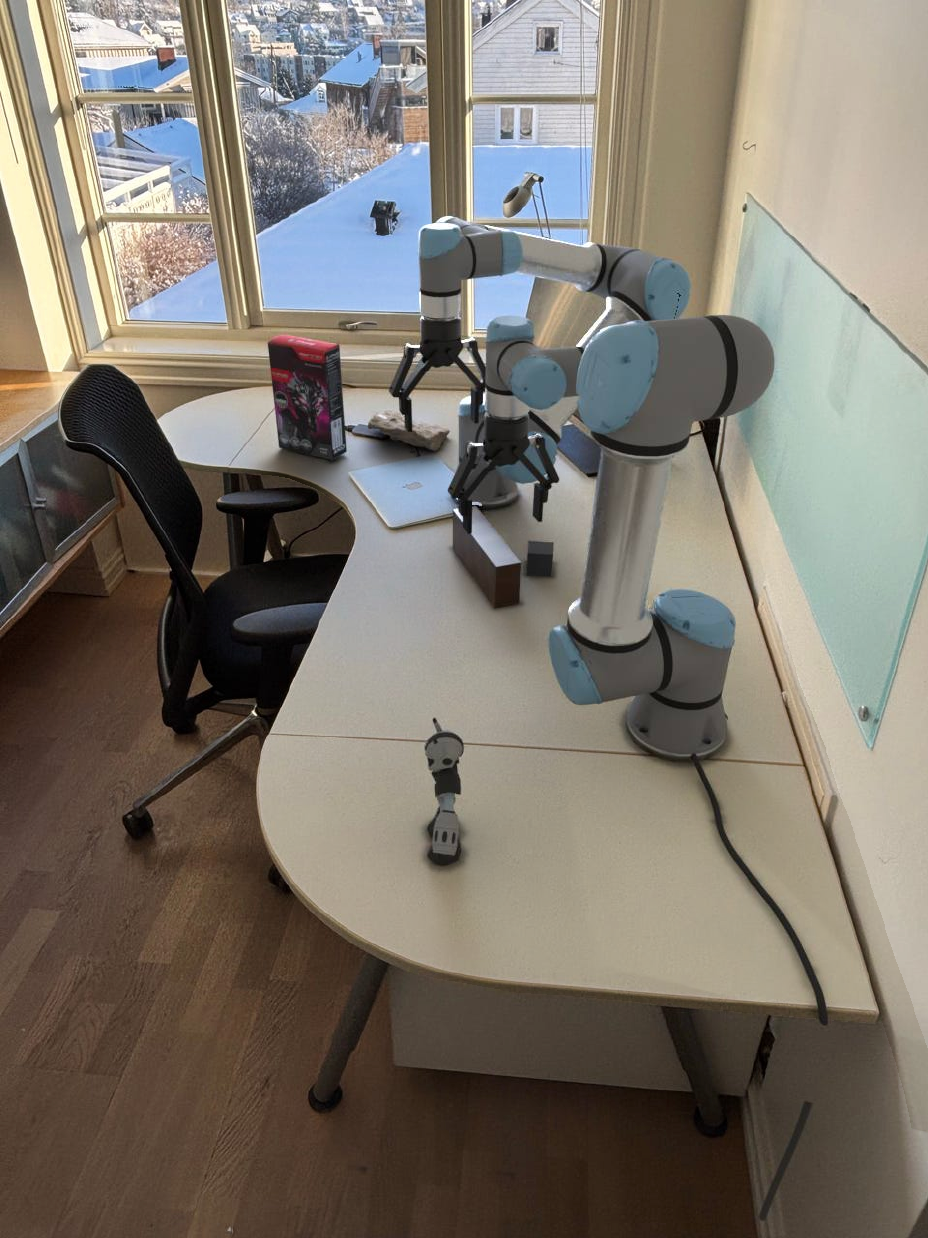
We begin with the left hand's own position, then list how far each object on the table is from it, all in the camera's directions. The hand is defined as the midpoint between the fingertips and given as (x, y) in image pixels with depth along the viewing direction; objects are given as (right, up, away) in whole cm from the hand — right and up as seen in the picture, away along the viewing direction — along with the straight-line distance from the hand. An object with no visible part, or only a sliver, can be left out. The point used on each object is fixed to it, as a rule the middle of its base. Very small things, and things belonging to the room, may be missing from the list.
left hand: (441, 425), depth 181 cm
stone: (-11, +8, +56) cm, 57 cm away
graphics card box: (-33, +4, +50) cm, 60 cm away
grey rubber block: (+19, -28, +3) cm, 34 cm away
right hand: (+11, -21, -14) cm, 28 cm away
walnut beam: (+8, -29, +1) cm, 30 cm away
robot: (+2, -68, -57) cm, 89 cm away
